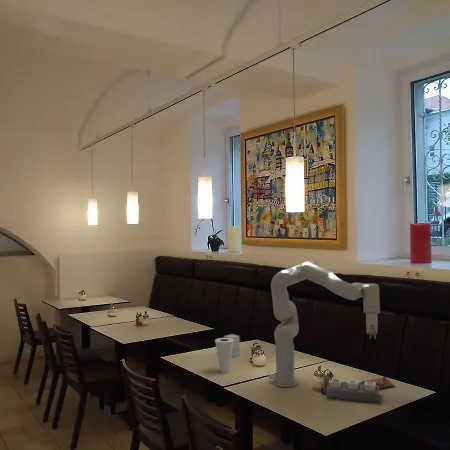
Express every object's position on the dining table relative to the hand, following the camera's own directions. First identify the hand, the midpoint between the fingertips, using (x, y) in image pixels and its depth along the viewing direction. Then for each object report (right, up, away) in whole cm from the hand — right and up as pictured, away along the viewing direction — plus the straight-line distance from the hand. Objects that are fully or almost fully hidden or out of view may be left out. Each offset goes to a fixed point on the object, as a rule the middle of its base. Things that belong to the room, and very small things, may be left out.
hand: (373, 344), depth 244 cm
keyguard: (-10, -25, -1) cm, 27 cm away
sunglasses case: (+6, -25, +12) cm, 28 cm away
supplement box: (-67, -25, +75) cm, 104 cm away
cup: (-72, -26, +42) cm, 87 cm away
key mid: (-10, -22, -1) cm, 24 cm away
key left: (-18, -22, +2) cm, 28 cm away
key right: (-2, -22, -3) cm, 22 cm away
